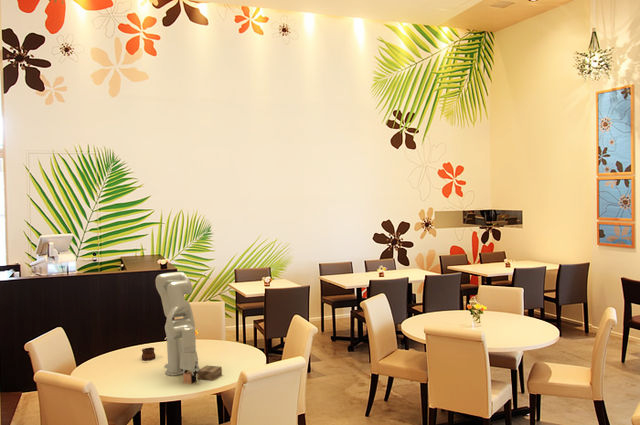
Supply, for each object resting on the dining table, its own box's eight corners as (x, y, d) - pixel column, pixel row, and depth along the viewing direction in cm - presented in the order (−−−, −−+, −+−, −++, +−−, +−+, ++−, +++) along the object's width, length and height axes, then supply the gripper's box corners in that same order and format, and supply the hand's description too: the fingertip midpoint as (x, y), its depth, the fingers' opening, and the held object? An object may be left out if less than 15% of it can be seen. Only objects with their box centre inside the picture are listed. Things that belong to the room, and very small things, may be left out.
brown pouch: (152, 363, 331) (152, 352, 331) (128, 362, 335) (128, 351, 335) (168, 356, 348) (167, 345, 348) (144, 355, 353) (144, 344, 353)
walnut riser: (197, 379, 299) (197, 370, 299) (206, 373, 308) (206, 365, 308) (213, 380, 296) (212, 372, 296) (221, 375, 305) (221, 366, 305)
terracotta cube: (183, 382, 294) (183, 373, 294) (189, 379, 298) (189, 371, 298) (190, 383, 291) (190, 374, 291) (196, 380, 296) (196, 372, 296)
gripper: (172, 349, 295) (174, 381, 295) (195, 352, 287) (197, 385, 287) (182, 345, 302) (183, 377, 302) (205, 348, 294) (206, 381, 294)
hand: (190, 380), depth 295 cm, fingers closed on terracotta cube, 5 cm apart
